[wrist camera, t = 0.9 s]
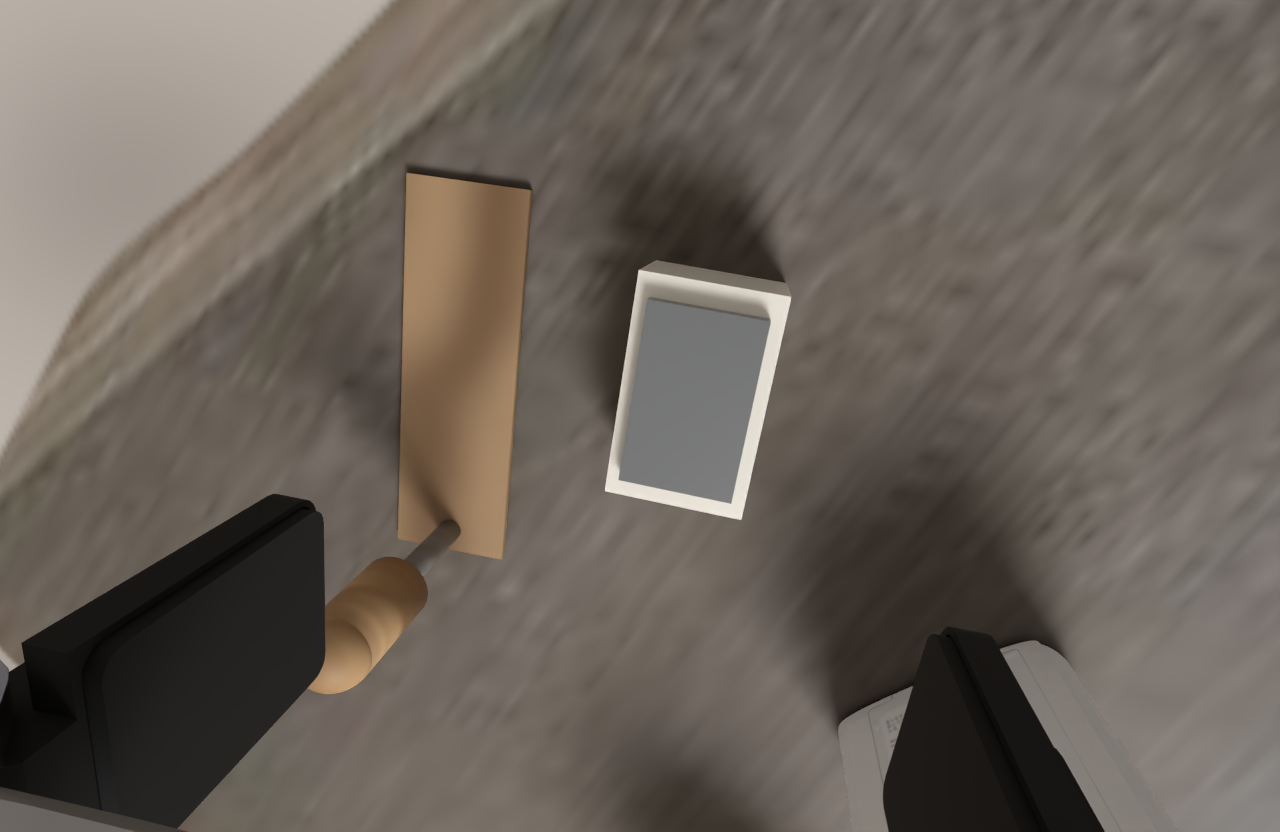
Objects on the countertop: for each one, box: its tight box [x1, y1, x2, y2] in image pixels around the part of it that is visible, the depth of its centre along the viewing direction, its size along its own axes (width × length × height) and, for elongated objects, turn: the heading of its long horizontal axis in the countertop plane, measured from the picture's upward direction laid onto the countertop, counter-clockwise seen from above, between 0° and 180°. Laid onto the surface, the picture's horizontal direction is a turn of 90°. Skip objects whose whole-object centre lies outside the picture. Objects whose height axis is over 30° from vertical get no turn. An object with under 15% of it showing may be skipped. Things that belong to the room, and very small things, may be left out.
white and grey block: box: [605, 260, 791, 520], centre depth 25 cm, size 5×8×5 cm, turn 172°
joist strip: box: [398, 173, 533, 560], centre depth 29 cm, size 5×16×1 cm, turn 173°
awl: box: [308, 519, 461, 694], centre depth 26 cm, size 3×3×10 cm
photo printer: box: [838, 641, 1180, 832], centre depth 24 cm, size 10×4×12 cm, turn 127°
